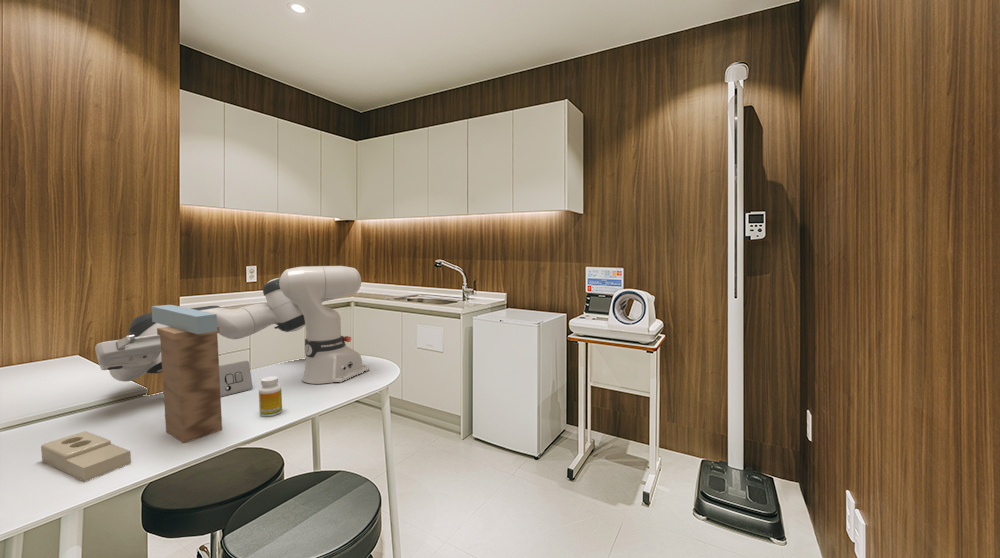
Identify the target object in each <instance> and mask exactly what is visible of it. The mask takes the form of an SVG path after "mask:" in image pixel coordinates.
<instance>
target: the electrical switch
mask: <svg viewBox="0 0 1000 558" xmlns="http://www.w3.org/2000/svg"><path fill="white" fill-rule="evenodd" d="M219 377H220V396H221V397H227V396H230V395H233V394H237V393H241V392H245V391H250V390H252V389H253V381H252V374H251V368H250V361H248V360H242V361H238V362H231V363H227V364H223V365H222V364H221V365H219ZM227 388H228V389H227Z"/></svg>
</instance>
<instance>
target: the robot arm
mask: <svg viewBox="0 0 1000 558" xmlns="http://www.w3.org/2000/svg"><path fill="white" fill-rule="evenodd" d="M361 286H362V277H361V274H360V273H359V271H358V270H357V269H356V268H355V267H350V266H345V265H316V266H315V265H313V266H311V265H310V266H296V267H292V268H287V269H285V270H283V272H282V273H281V276H280V277H276V278H272V279H271V280H269V281H267V283H265V284H264V285H263V286H262V293H263V296H264V297H265V300H266V303H262V302H261V303H255V304H249V305H245V306H241V307H238V308H233V309H232V308H223V307H221V306H219V305H207V306H199V307H192V308H189V309H194V310H199V311H204V312H209V313H213V314H217V326H218V327H219V331H220V333H218V335H220V336H222V337H224V338H226V339H230V340H241V339H244V338H246V337H250V336H252V335H253V334H256V333H259V332H261V331H262V330H264V329H266V328H268V327H270V326H272V325H277V326H274V329H276V330H277V329H278V330H280V331H281V332H284V333H289V332H297V331H300V330H301V329H303V328H304V327H305V339H304V351H305V352H304V353H305V364H304V370H303V375H302V378H301V380H302V382H303V383H307V384H313V385H317V384H318V385H319V384H329V383H331V384H332V383H333V382H340V383H343V382H342V381H344V380H346V381H348V380H350V379H352V378H351V377H353V376H355V375H357V376H359V375H358V374H360V373H362V372H364V371H366V372H368V371H367V370H369V371H370V367H369V366H368V365H366V364H363V360H362V356H361V354H360V353H359V352H358V351H356V350H354V349H353V348H351V347H349V346H348V345H347V344H346V343H350V342H351V341H352V337H351V336H348V335H345V336H343V335H342V329H341V328H342V326H341V323H342V322H341V315H340V314H339V312H338V311H336V310H335V309H333V308H331V307H328V306H325V305H323V303H324V302H328V301H332V300H336V299H340V298H344V297H347V296H352V295H355V294H357V293H358V291H359V290H360V289H361ZM163 327H169V326H166V325H162V324H159V323H155V322H152V312H148V313H143V314H141V315H138V316H137V317H135V318H134V319H132V321H131V323H130V325H129V326H128V331H127V332H128V333H129V335H126V336H125V337H123V338H121V339H116V340H108V341H103V342H99V343H96V344H95V347H94V350H95V356H96V359H97V362H98V365H99V367H100V370H101V371H109V375H110V376H111V377H112V378H113V379H114V380H116V381H119V382H124V383H125V382H131V381H134V380H136V379H138V378H140V377H141V376H143V375H145V374H146V373H147V374H160V373H162V358H161V342H160V335H157V328H163ZM364 373H365V372H364ZM362 374H363V373H362ZM360 375H361V374H360ZM355 377H356V376H355ZM349 378H350V379H349ZM353 378H354V377H353ZM347 379H348V380H347ZM344 382H345V381H344Z"/></svg>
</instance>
